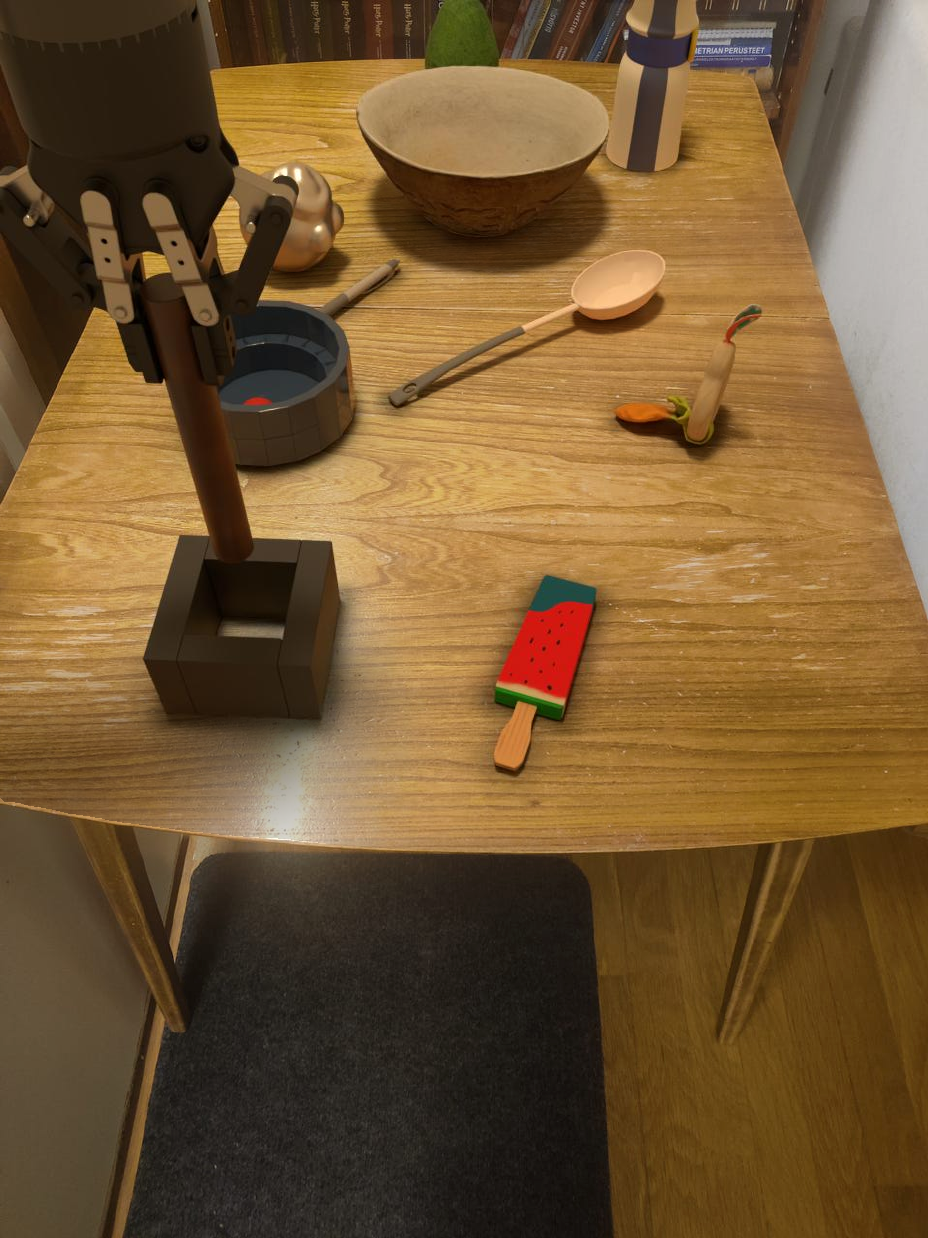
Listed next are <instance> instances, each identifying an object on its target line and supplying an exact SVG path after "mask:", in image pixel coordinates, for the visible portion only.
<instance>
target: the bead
mask: <svg viewBox="0 0 928 1238" xmlns="http://www.w3.org/2000/svg"><path fill="white" fill-rule="evenodd" d="M270 403H272V402H271V401H269V400H267V399H265V398H252V399H250V400H248V401H246V402H245V403H244V404H243V405H264V404H270Z"/></svg>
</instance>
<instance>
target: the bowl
mask: <svg viewBox="0 0 928 1238" xmlns="http://www.w3.org/2000/svg"><path fill="white" fill-rule="evenodd" d="M355 115H356V122H357V125H358V128H359V130H360V133H361V136H362V138H363V140H364V142H365V144H366V145H367V147H368V149H369V150H370V152H371V153H372V155H373V156H374V158H375V160H376V162H377V163H378V165H379V166H380V167H381V168H382V170H383V171H384V172H385V174H386V176H387V179H389V181H390V182H391V183H392V185H393V186H394V187H395V188H396V189H397V191H398V192H399V194H400V195H402V197H403V198H405V200H406V201H407V202H408V203H409V204H410V205H411V206H412V208H414V209H415V210H416V211H417V212H418V213H419V214H420V215H421V216H423V217H424V218H425V219H427V220H428V221H430V222H431V223H432V224H433V225H435V226H437V227H438V228H440V229H443V230H445V231H448V232H450V233H454V234H456V235H457V234H458V235H462V236H466V237H476V238H477V237H483V238H485V237H496V236H504V235H507V234H509V233H513V232H516V231H518V230H520V229H521V228H524V227H525V226H527V225H528V224H530V223H531V222H533V221H534V220H536V219H537V218H538V217H540V215H542V214H544V213H545V212H546V211H548V210H549V209H550V208H551V207H552V206H553V205H555V203H556V202H558V201H559V200H560V199H561V198H563V196H564V195H565V194H566V193H567V192H568V191H569V190H571V189H572V187H573V186H574V185H575V184H576V183H577V182H578V181H579V180H580V178H581V177H582V176H583V175H584V173H585V172H586V171H587V169H588V168H589V167H590V166H591V164H592V163H593V161H594V160H595V159H596V157H597V156H598V154H599V153H600V152H601V150H602V148H603V146H604V145H605V143H606V141H607V139H608V137H609V131H610V116H609V112H608V110H607V108H606V106H605V105H604V103H603V102H602V100H601V99H600V98H599V97H597V96H596V95H595V94H594V93H592V92H590V91H588V90H587V89H584V88H582V87H580V86H578V85H576V84H575V83H572V82H569V81H565V80H562V79H560V78H557V77H554V76H551V75H547V74H543V73H537V72H534V71H529V70H524V69H518V68H514V67H505V66H499V67H489V66H449V67H439V68H434V69H426V70H425V69H421V70H416V71H411V72H407V73H404V74H401V75H399V76H396V77H394V78H391V79H388V80H385V81H382V82H381V83H379V84H377V85H375V86H373V87H372V88H370V89H368V90H366V92H364V93H363V94H362V95H361V96H360V97H359V99H358V101H357V107H356V110H355Z"/></svg>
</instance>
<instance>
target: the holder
mask: <svg viewBox="0 0 928 1238" xmlns="http://www.w3.org/2000/svg"><path fill="white" fill-rule="evenodd" d="M252 538H253V542H254V550H253V552H252V554H251V555H250V556H249V557H248V558H247V559H246V560H244V561H241V562H238V563H225V562H222V561H220V560H219V559H218V558H217V557H216V556H215V554H214V551H213V547H212V544H211V540H210V537H209V535H198V534H197V535H195V534H194V535H193V534H179V537H178V539H177V543H176V546H175V549H174V552H173V556H172V559H171V564H170V567H169V569H168V573H167V577H166V580H165V582H164V583H165V584H164V587H163V590H162V594H161V598H160V600H159V603H158V607H157V610H156V614H155V617H154V621H153V623H152V627H151V630H150V634H149V636H148V640H147V644H146V647H145V650H144V654H143V658H142V661H143V664H144V666H145V668H146V670H147V672H148V675H149V677H150V679H151V682H152V684H153V686H154V689H155V691H156V693H157V696H158V698H159V700H160V703H161V705H162V707H163V710H164V712H165V714H170V715H171V714H174V715H195V716H196V715H203V716H205V715H206V716H223V717H224V716H225V717H249V718H268V719H269V718H271V719H273V718H274V719H294V720H295V719H296V720H314V721H315V720H317V721H318V720H319V721H321V720H322V716H323V711H324V705H325V698H326V691H327V687H328V686H327V684H328V678H329V673H330V665H331V659H332V653H333V647H334V640H335V635H336V629H337V628H336V627H337V623H338V622H337V621H338V615H339V609H340V602H341V595H340V587H339V580H338V575H337V568H336V567H337V566H336V560H335V554H334V547H333V542H332V541H331V540H317V539H316V540H315V539H312V540H311V539H302V540H301V539H294V538H293V539H290V538H265V537H252ZM222 617H241V618H266V619H267V618H268V619H285V623H284V628H283V634H282V638H281V637H260V636H259V637H258V636H257V637H255V636H237V635H236V636H234V635H217V634H218V629H219V625H220V622H221V618H222Z"/></svg>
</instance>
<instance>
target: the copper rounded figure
mask: <svg viewBox="0 0 928 1238" xmlns="http://www.w3.org/2000/svg"><path fill="white" fill-rule="evenodd" d="M259 175H260V176H262V177H264V178H266V179H268V180H270V181H273V179H274V178H275V177H277V176H279V175H286V176H289V177H291V178H293V179H294V180H295V181H296V183H297V184H298V187H299V194H298V198H297V202H296V205H295V209H294V212H293V216H292V219H291V223H290V226H289V228H288V231H287V233H286V236H285V238H284V240H283V243H282V245H281V248H280V250H279V253H278V255H277V257H276V260H275V262H274V265H273V267H272V269H274V270H278V271H279V272H289V273H294V272H295V273H297V272H301V271H305V270H308V269H310V268H312V267H314V266H316V265H317V264H319V263H321V261H322V260H324V258H325V257H326V255H327V253H328V251H329V250H330V249H331V247H332V245H333V244H334V243H335V242H334V241H335V240H336V235H337V234H338V233H339V232H340V231H341V230H342V229H343V227H344V225H345V214H344V213H345V212H344V210H343V207H342V206H341V205H340V204H339V203H338V202H336V201H335V200H333V194H332V189H331V186H330V184H329V182H328V181H327V179H326V178H325V176H324V175H323V174H322V173H321V172H319V171H318V170H317V169H315V168H314V167H313V166H311V165H309V164H306V163H304V162H300V161H289V162H285V163H282V164H279V165H277V166H276V167H274V168H272V169H269V170H267V171H264V172H263V173H261V174H259ZM238 210H239V211H238V223H239V230H240V234H241V236H242V238H243V241H244V243H245V245H246V247H247V246H248V243H249V240H250V238H251V235H252V234H250V233H248V232H247V231H246V230H245V227H244V226H243V225H242V224H241V222H240V218H239V216H240V207H239V209H238Z"/></svg>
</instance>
